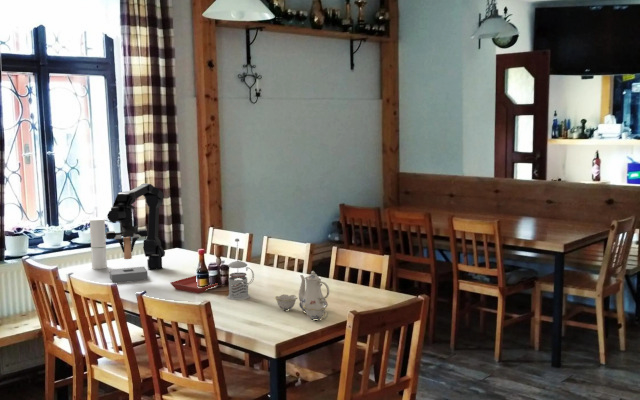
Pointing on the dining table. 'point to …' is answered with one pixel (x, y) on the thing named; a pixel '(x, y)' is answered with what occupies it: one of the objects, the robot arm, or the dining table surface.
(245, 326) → the dining table surface
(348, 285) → the dining table surface
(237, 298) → the french press
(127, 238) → the peg
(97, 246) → the cylindrical container
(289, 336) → the dining table surface
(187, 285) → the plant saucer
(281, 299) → the chinaware
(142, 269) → the socket block
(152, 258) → the robot arm
